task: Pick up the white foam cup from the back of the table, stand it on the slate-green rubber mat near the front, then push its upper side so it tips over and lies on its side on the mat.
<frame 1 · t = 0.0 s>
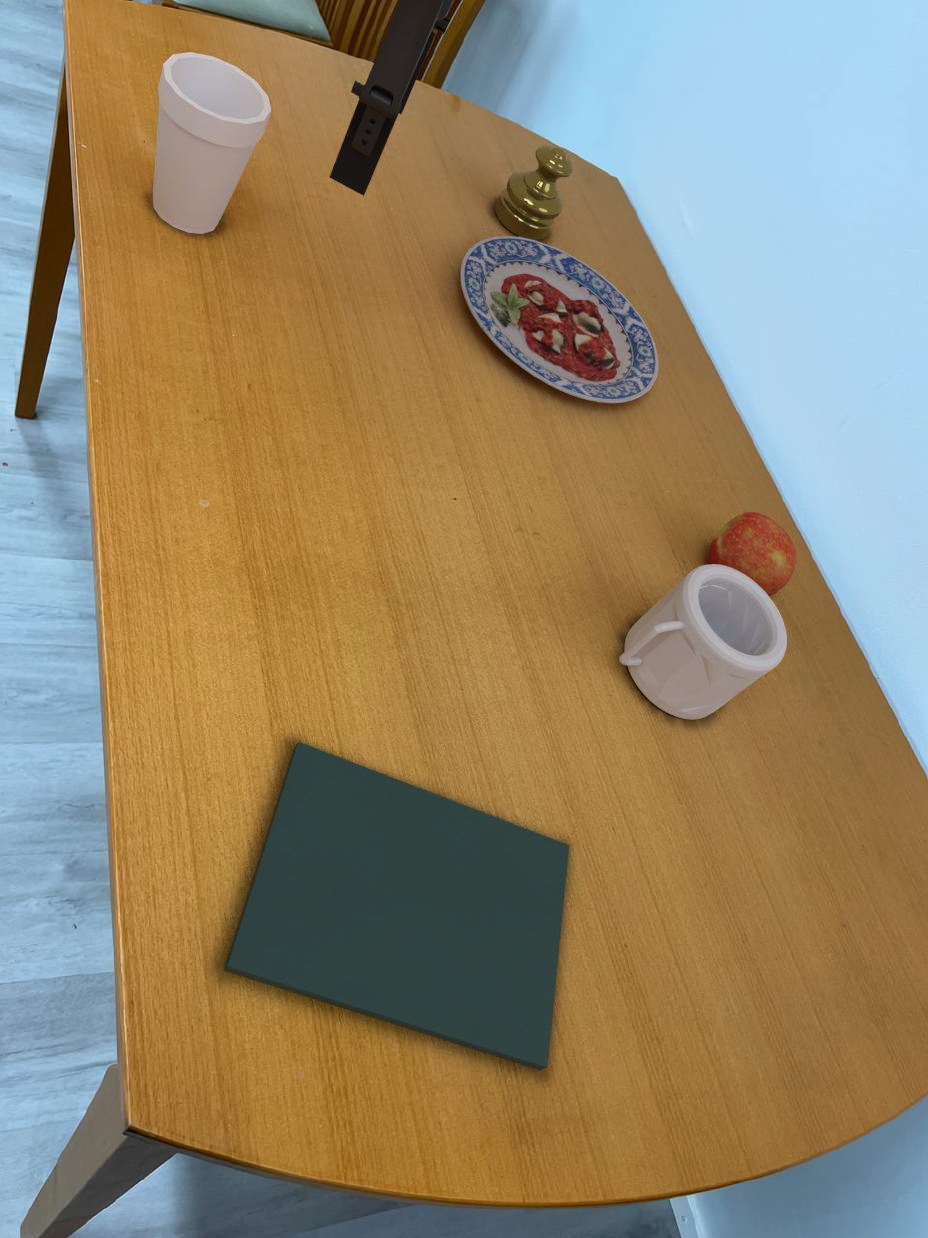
hand: (368, 142, 74), 22 cm above the table, tool pointing down, fingers open, 13 cm apart
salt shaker: (519, 222, 122), on the table
foam cup: (185, 212, 95), on the table
ceramic plate: (553, 330, 112), on the table
apple: (727, 579, 102), on the table
mat: (412, 903, 66), on the table
mug: (658, 671, 90), on the table
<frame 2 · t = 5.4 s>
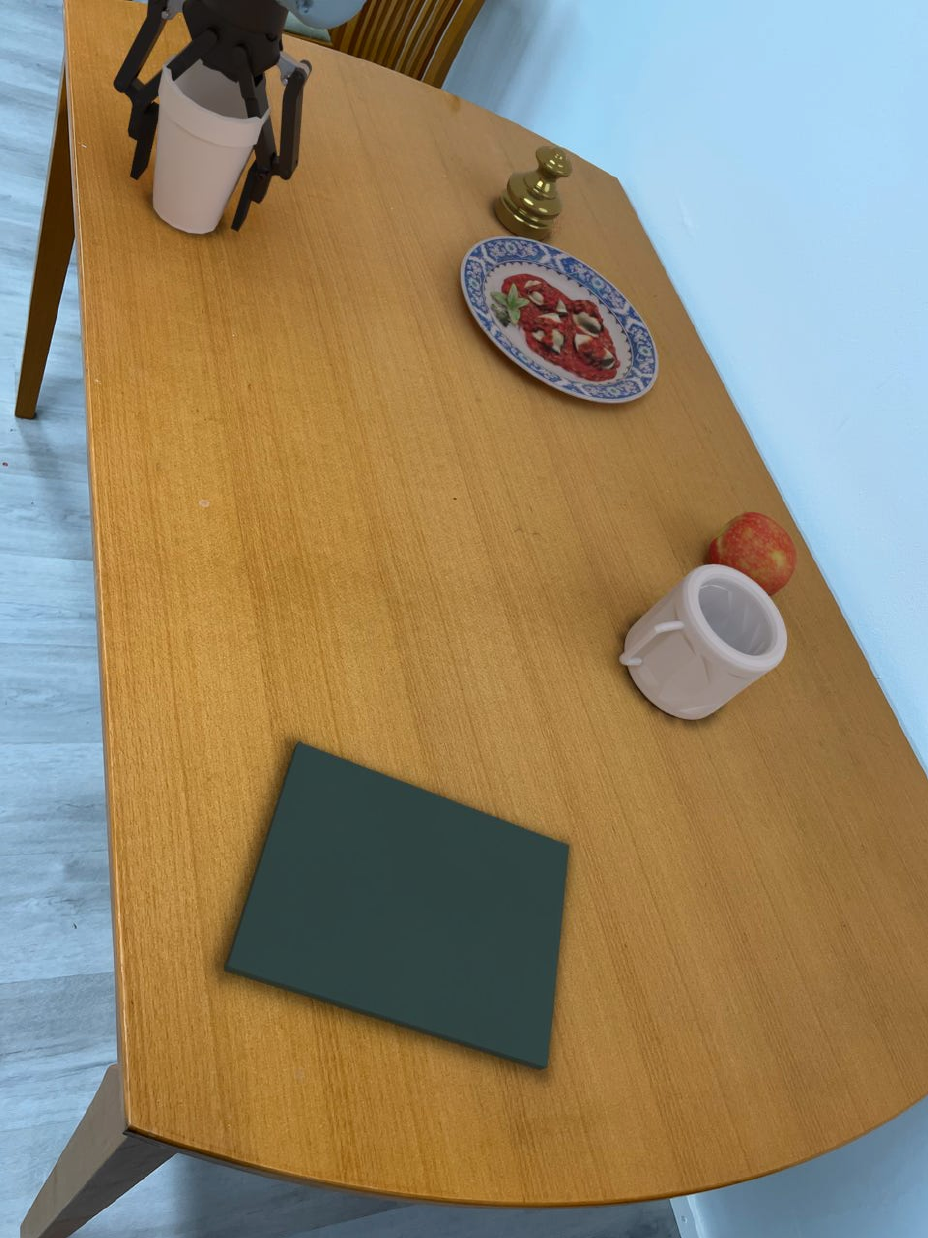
hand: (189, 197, 94), 2 cm above the table, tool pointing down, fingers closed on foam cup, 9 cm apart
foam cup: (185, 212, 95), on the table, touching gripper
everything else where it was.
when the fingers open (2 cm above the table, at t = 16.6 s): foam cup stays where it is, resting on mat.
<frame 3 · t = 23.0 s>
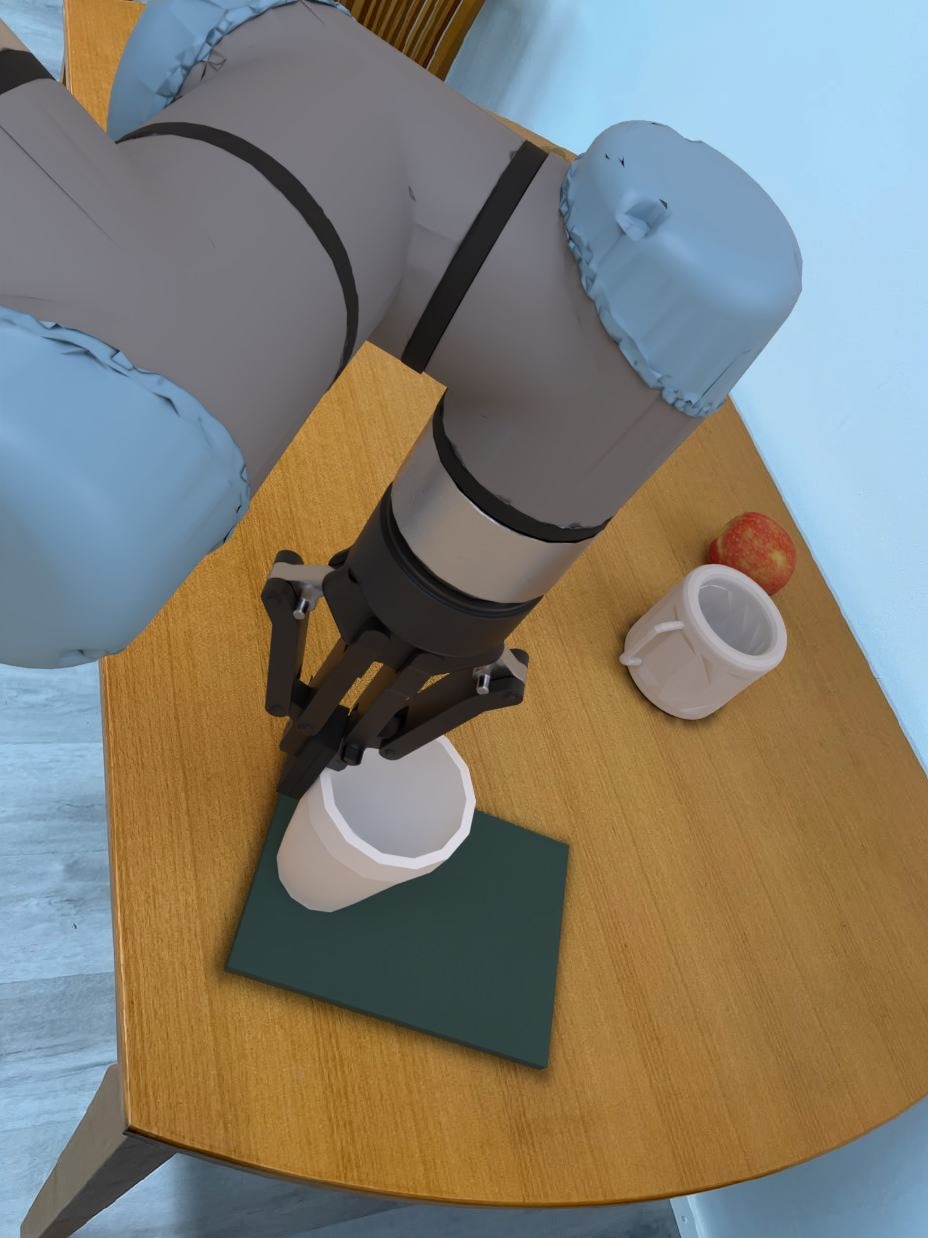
hand: (294, 775, 55), 11 cm above the table, tool pointing down, fingers closed
foam cup: (322, 865, 64), point 1 cm above the table, touching gripper, mat
everything else where it was.
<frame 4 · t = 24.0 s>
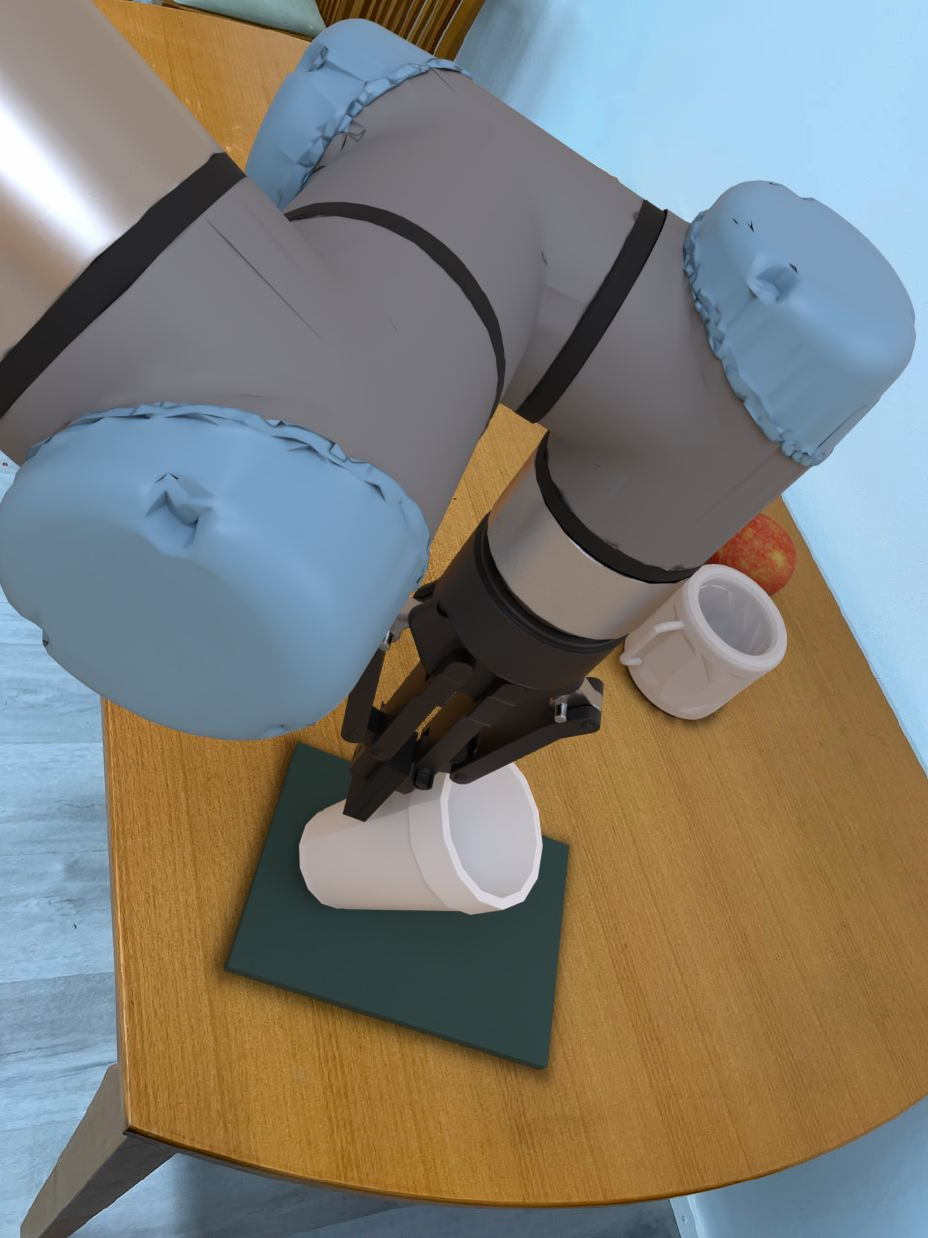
hand: (359, 797, 56), 11 cm above the table, tool pointing down, fingers closed
foam cup: (333, 858, 63), point 2 cm above the table, touching gripper, mat
everything else where it was.
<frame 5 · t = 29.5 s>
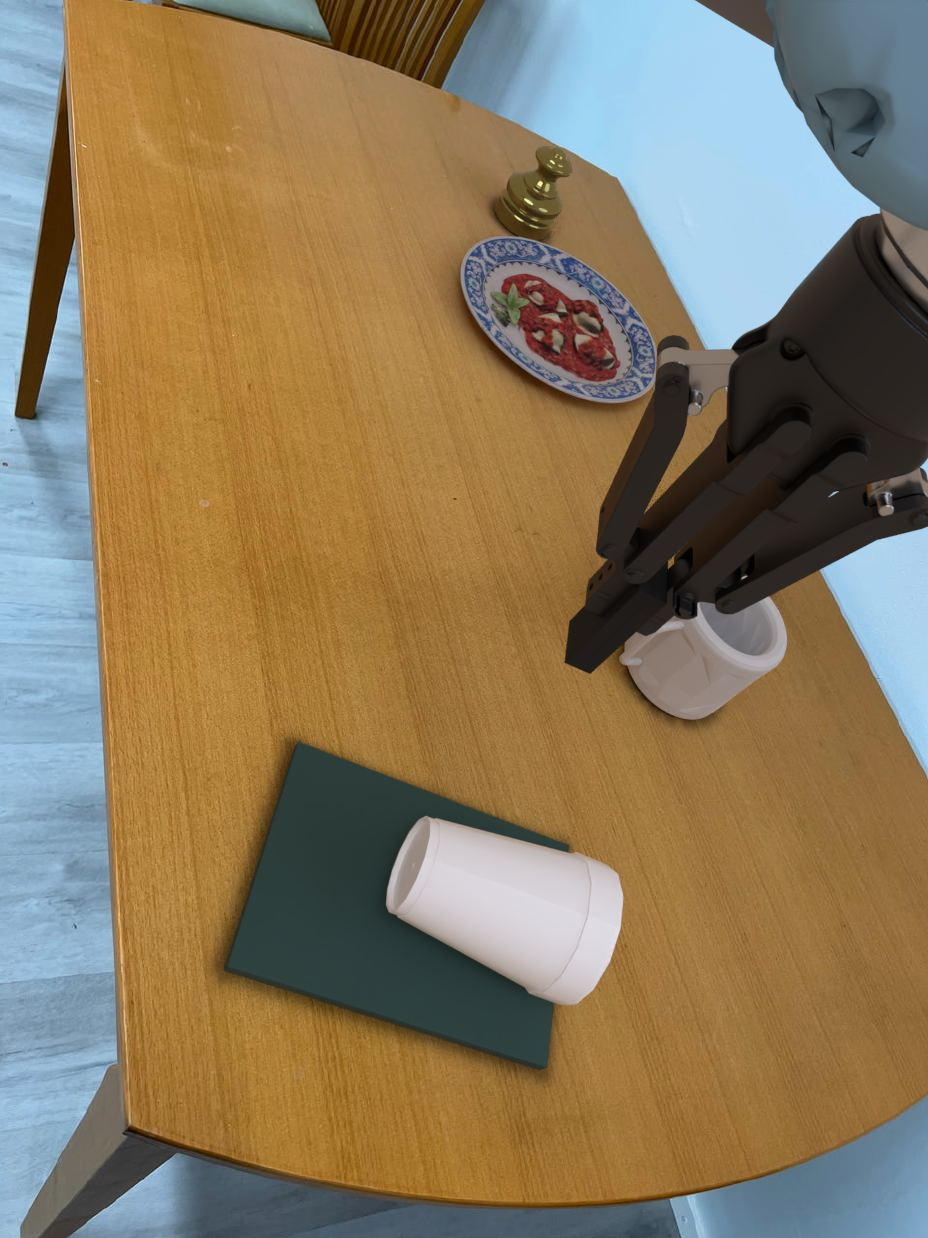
hand: (579, 647, 49), 26 cm above the table, tool pointing down, fingers closed
foam cup: (405, 862, 62), point 6 cm above the table, touching mat
everything else where it was.
at the end: foam cup tilted 90°; foam cup inside the target area on the mat (3.5 cm from its centre), point 5.6 cm above the mat's base; the gripper is holding nothing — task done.
